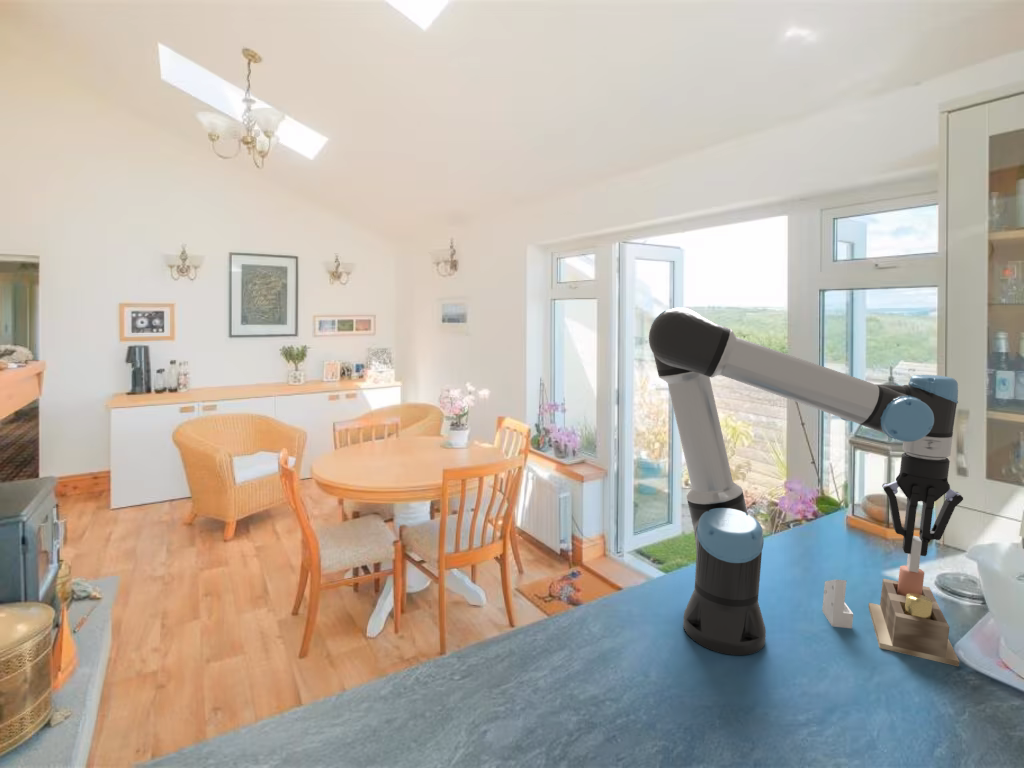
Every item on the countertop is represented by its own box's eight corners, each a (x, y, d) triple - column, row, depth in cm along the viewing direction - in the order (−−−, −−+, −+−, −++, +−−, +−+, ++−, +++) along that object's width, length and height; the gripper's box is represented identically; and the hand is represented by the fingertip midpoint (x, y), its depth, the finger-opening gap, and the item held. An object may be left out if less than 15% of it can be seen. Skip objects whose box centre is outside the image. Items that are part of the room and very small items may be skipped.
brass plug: (903, 640, 104) (908, 601, 103) (900, 629, 108) (904, 591, 107) (929, 646, 103) (934, 606, 101) (925, 635, 106) (929, 596, 105)
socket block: (879, 647, 105) (883, 613, 104) (868, 607, 119) (871, 576, 118) (958, 666, 99) (963, 630, 98) (937, 621, 113) (941, 589, 112)
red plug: (897, 609, 111) (901, 572, 110) (894, 600, 115) (898, 563, 114) (921, 614, 109) (926, 576, 108) (917, 605, 113) (922, 568, 112)
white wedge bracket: (841, 627, 107) (836, 579, 110) (823, 625, 116) (819, 582, 119) (862, 629, 106) (856, 581, 109) (842, 627, 115) (838, 583, 119)
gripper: (888, 455, 107) (876, 570, 110) (973, 464, 101) (958, 584, 105) (882, 446, 114) (871, 555, 117) (962, 454, 108) (947, 568, 111)
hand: (912, 569), depth 111 cm, fingers closed
